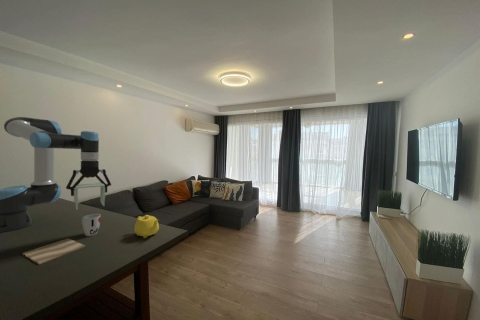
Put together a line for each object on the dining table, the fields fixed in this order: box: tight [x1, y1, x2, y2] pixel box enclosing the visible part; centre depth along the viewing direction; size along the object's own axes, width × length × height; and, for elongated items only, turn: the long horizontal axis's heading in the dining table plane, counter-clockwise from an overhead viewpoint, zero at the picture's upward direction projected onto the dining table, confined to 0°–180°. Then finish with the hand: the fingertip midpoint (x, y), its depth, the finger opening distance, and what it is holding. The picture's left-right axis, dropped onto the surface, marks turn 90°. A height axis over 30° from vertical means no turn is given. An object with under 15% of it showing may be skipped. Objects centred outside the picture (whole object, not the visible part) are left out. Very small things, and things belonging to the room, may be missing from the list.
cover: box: [75, 181, 106, 211], centre depth 102 cm, size 12×12×12 cm
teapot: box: [133, 214, 160, 239], centre depth 105 cm, size 18×11×11 cm, turn 60°
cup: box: [81, 213, 101, 237], centre depth 103 cm, size 8×8×10 cm
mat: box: [22, 237, 86, 265], centre depth 86 cm, size 16×16×1 cm
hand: (89, 200), depth 102 cm, fingers closed on cover, 12 cm apart
